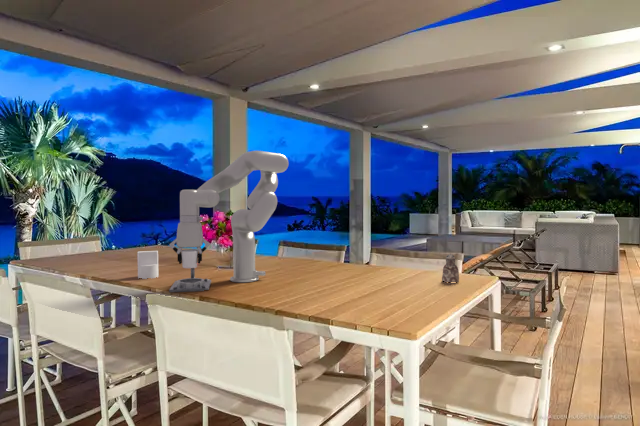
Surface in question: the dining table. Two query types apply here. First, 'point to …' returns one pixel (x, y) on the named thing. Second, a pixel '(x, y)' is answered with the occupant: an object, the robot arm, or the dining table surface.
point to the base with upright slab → (147, 264)
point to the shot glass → (189, 258)
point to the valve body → (191, 284)
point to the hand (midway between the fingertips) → (189, 262)
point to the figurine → (450, 270)
